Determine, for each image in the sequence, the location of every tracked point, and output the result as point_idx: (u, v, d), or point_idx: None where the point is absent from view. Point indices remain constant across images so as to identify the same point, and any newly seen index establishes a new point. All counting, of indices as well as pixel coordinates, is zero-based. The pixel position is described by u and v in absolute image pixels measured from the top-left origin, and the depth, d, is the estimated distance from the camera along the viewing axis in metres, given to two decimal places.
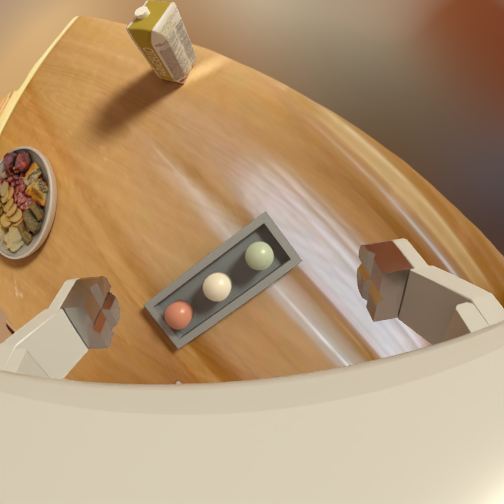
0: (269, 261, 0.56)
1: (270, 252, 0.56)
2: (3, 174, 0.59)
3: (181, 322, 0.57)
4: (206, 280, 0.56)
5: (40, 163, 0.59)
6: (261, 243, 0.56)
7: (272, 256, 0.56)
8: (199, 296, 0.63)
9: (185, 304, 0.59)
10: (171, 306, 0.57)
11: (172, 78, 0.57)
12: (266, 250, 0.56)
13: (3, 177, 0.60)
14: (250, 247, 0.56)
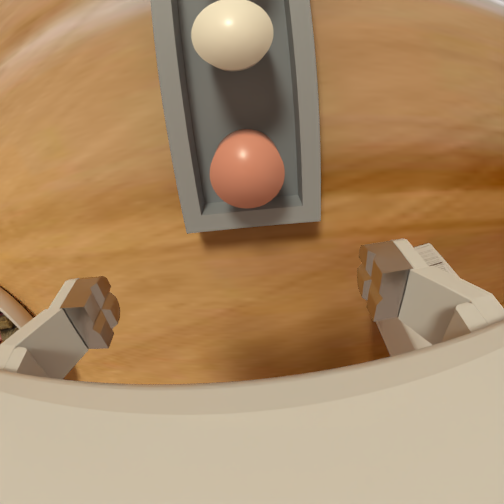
0: None
1: None
2: None
3: (266, 171, 0.20)
4: (198, 46, 0.16)
5: None
6: None
7: None
8: (238, 104, 0.23)
9: (231, 137, 0.21)
10: (213, 171, 0.20)
11: None
12: None
13: None
14: None
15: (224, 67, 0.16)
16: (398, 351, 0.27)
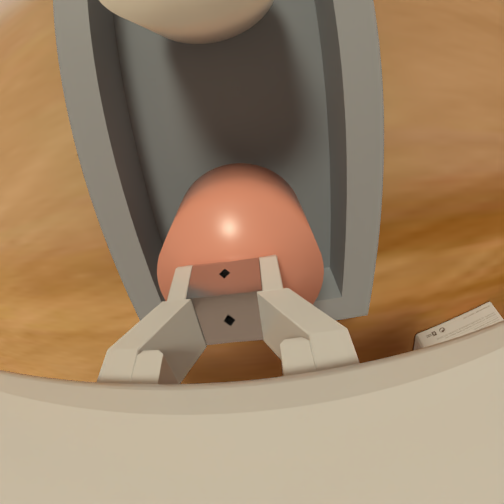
0: None
1: None
2: None
3: (284, 275, 0.09)
4: None
5: None
6: None
7: None
8: (221, 112, 0.12)
9: (203, 190, 0.10)
10: (165, 277, 0.09)
11: None
12: None
13: None
14: None
15: (165, 23, 0.05)
16: None
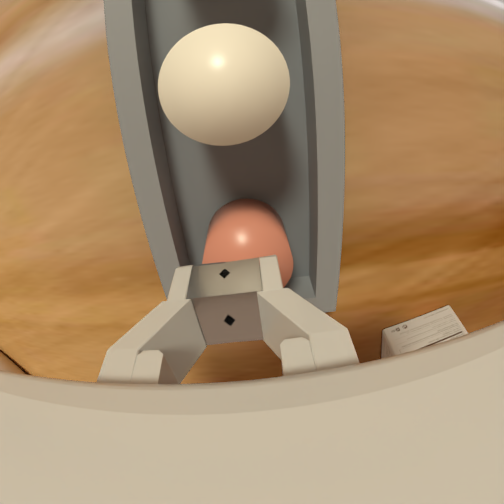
0: None
1: None
2: None
3: None
4: (169, 107, 0.11)
5: None
6: None
7: None
8: (234, 169, 0.19)
9: (227, 217, 0.17)
10: None
11: None
12: None
13: None
14: None
15: (212, 143, 0.12)
16: None
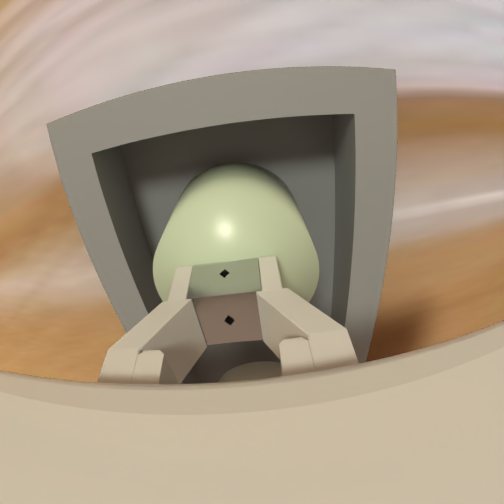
0: (292, 247, 0.09)
1: (252, 217, 0.08)
2: None
3: None
4: None
5: None
6: (169, 240, 0.08)
7: (278, 219, 0.08)
8: None
9: None
10: None
11: None
12: (226, 235, 0.08)
13: None
14: (168, 296, 0.10)
15: None
16: None
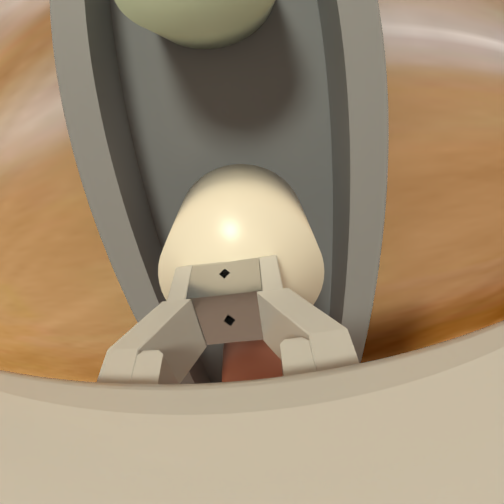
0: None
1: None
2: None
3: None
4: None
5: None
6: None
7: None
8: None
9: (244, 355, 0.16)
10: None
11: None
12: None
13: None
14: None
15: None
16: None
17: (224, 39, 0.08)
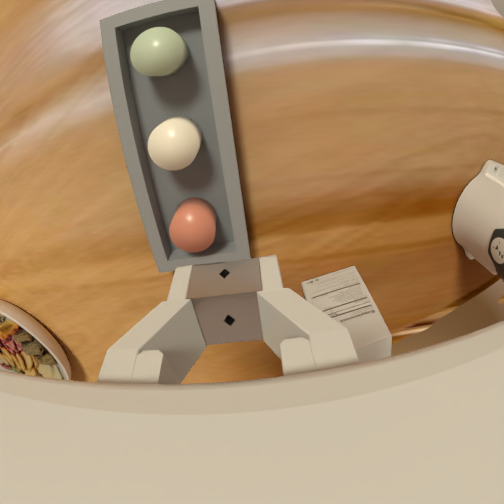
0: (172, 38, 0.22)
1: (160, 30, 0.21)
2: None
3: (203, 230, 0.33)
4: (152, 156, 0.28)
5: None
6: (137, 40, 0.22)
7: (168, 30, 0.21)
8: (186, 182, 0.35)
9: (181, 207, 0.34)
10: (171, 231, 0.33)
11: None
12: (153, 36, 0.22)
13: None
14: (134, 60, 0.23)
15: (170, 169, 0.29)
16: None
17: (168, 74, 0.26)
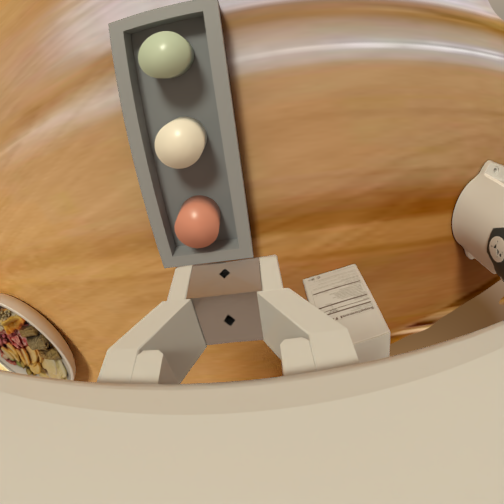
0: (178, 41, 0.23)
1: (167, 34, 0.23)
2: None
3: (207, 226, 0.35)
4: (159, 154, 0.30)
5: None
6: (144, 43, 0.23)
7: (174, 34, 0.23)
8: (191, 180, 0.36)
9: (187, 204, 0.35)
10: (176, 228, 0.34)
11: None
12: (160, 40, 0.23)
13: None
14: (141, 62, 0.24)
15: (176, 167, 0.31)
16: None
17: (174, 76, 0.27)
